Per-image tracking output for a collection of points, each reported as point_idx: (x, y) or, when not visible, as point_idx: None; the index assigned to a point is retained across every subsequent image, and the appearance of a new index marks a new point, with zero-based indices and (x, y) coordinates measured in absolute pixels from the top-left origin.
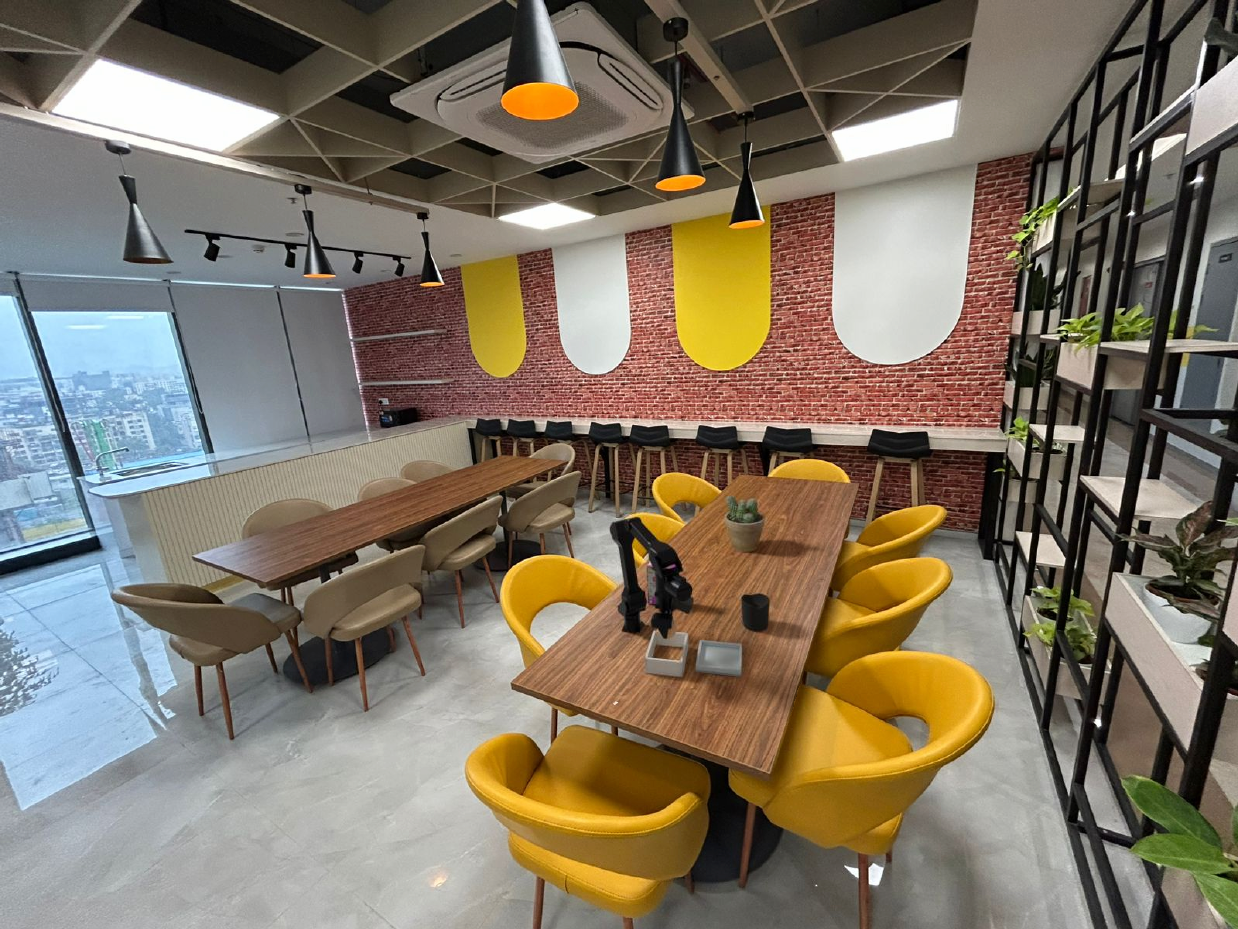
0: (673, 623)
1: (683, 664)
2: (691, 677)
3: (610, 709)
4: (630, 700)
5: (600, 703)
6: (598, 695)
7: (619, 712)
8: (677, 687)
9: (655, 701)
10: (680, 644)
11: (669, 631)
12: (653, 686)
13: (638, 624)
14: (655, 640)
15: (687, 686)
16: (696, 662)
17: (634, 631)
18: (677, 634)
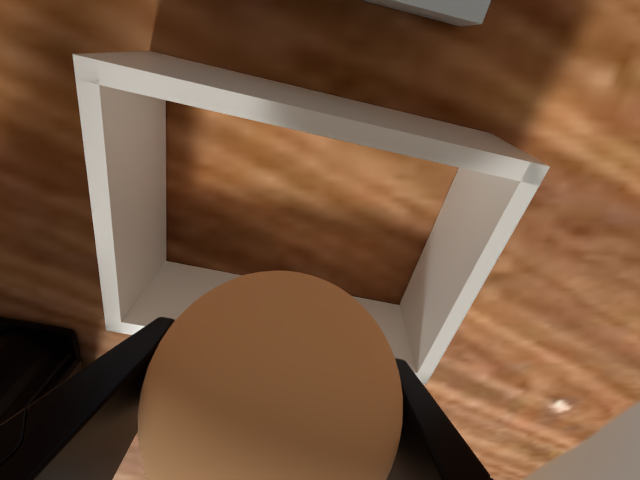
0: (284, 423)
1: (457, 133)
2: (508, 69)
3: (588, 417)
4: (570, 367)
5: (543, 439)
6: (499, 444)
7: (619, 396)
8: (570, 173)
9: (625, 284)
10: (156, 120)
11: (400, 408)
12: (515, 287)
13: (24, 357)
14: (162, 284)
15: (587, 109)
16: (441, 9)
17: (76, 353)
18: (113, 165)
